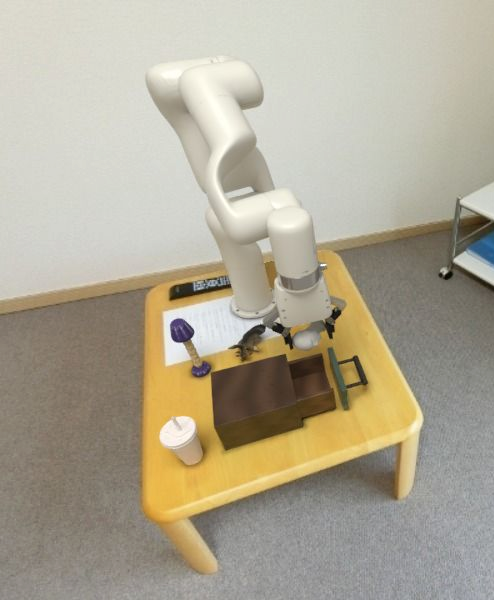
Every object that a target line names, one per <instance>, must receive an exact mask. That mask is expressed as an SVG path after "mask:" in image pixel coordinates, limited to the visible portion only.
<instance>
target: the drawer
mask: <svg viewBox="0 0 494 600" xmlns="http://www.w3.org/2000/svg"><path fill="white" fill-rule="evenodd" d="M326 351H327V358H328V362H329V363H328V364H329V369H330V372H331V375H332V378H333V381H334V384H335V387H336V391H337V394H338V397H339V400H340V403H341V406H342V410H347V409H349V408H350V406H349V405H350V404H349V396H348V390H349V389H352V388H356V387H358V386H364V387H365V386H368V385H369V381H368V378H367V376H366V373H365V370H364V368H363V365H362V362H361V360H360V358H359V355H357V354H355V355H352V357H350V358H346V359H343V360H340V361H338V359H337V356H336V352H335V351H334V347H333V346H329V347H327V348H326ZM352 362H353V364H354V366H355V369H356V372H357V374H358V378H359V381H357V382H352V383H350V384H346V382H345V380H344V376H343V374H342V370H341V368H340V366H341V365H345V364H349V363H352ZM288 364H289V369H290V373H291V377H292V382H293V386H294V390H295V394H296V399H297V403H298V407H299V411H300V416H301V419H303V418H306V417H310V416H314V415H317V414H320V413H323V412H327V411H329V410H334V409H336V408H337V404H336V397H335V396H336V395H335V390H334V387H331V384H330V382H329V378H328V376H327V372H326V367H325V361H324V355H323V353H322V352H320V353H316V354H313V355H312V354H311V355H308V356H304V357H301V358H297V359H293V360H288Z"/></svg>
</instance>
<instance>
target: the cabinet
mask: <svg viewBox="0 0 494 600" xmlns="http://www.w3.org/2000/svg"><path fill="white" fill-rule="evenodd" d="M288 361H289V360H288V356H287V353H282V354H279V355H274V356H271V357H267V358H262V359H259V360H254V361H252V362H251V361H250V362H246V363H244V364H238V365H233V366H230V367H227V368H223V369H218V370H215V371H210V385H211V386H210V387H211V399H212V400H211V402H212V419H213V421H212V422H213V428H214V430H215V432H216V434H217V437H218V438H219V440H220V442H221V444H222V446H223V448H224V450H225V451H229V450H231V449H235V448H238V447H239V448H240V447H242V446H246V445H248V444H252V443H255V442H259V441H261V440H265V439H269V438H272V437H275V436H279V435H281V434H284V433H285V434H286V433H288V432H291V431H295V430H298V429H301V428H303V427H304V424H303V421H302V418H301V416H300V411H299V407H298V403H297V399H296V394H295V390H294V386H293V382H292V377H291V373H290V369H289V364H288Z"/></svg>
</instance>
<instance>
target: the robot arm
mask: <svg viewBox="0 0 494 600" xmlns="http://www.w3.org/2000/svg"><path fill="white" fill-rule="evenodd" d="M144 80H145V81H144V82H145V86H146V88H147V91H148V93H149V95H150V98H151V100H152V102H153V103H154V105H155V107H156V108H157V111H159V113H160V114H161V116H162V117H163V118H164V119H165V120H166V121H167V123H168V124H169V125H170V127H171V128H172V129H173V131H174V132H175V134H176V136H177V137H178V139H179V141H180V144H181V147H182V149H183V151H184V154H185V156H186V159H187V161H188V164H189V166H190V168H191V171H192V173H193V176H194V178H195V180H196V183H197V185H198V187H199V188H200V189H201V191H202V192H203V193H204V194H206V197H207V201H208V203H209V207H208V208H207V209H206V211H205V215H204V218H205V219H204V220H205V222H206V226H207V228H208V230H209V231H210V233H211V235H212V237H213V239H214V241H215V244H216V245H217V247H218V250H219V253H220V256H221V259H222V263H223V265H224V268H225V271H226V274H227V279H228V280H229V283H230V287H231V290H232V293H233V297H232V299H231V302H230V307H231V310H232V312H233V313H234V314H235V315H236V316H237V317H240V318H243V319H259V318H261V317H263V319H262V324H263V325H264V326H266V329H269V330H271V331H272V332H274V333H277V334H279V335H280V336H281V337H282V338H283V341H284V344H285V345H286V346H287V345H288V346H289V350H290V351H292V350H293V349H294V345H293V343H292V335H291V329H292V328H294V327H299V326H304V325H307V324H310V323H311V322H315V321H319V320H323V321H324V322H325V325H326V330H325V332H326V333H327V336H328V338H329V340H333V339H334V335H333V334H334V333H335V332H336V328H335V324H336V321H337V320H338V319H339V317H340V316H342V314H343V313H342V312H343V311H344V310H345V309H346V307H347V306H348V304H347V302H346V300H345V299H343V298H340V297H336V296H334V295H331V294H330V292H329V291H330V290H329V288H328V284H327V281H326V277H325V275H324V272H323V271H325V270H328V264H327V262H326V261H323V262H322V261H319V257H318V250H317V241H316V235H315V227H314V221H313V218H312V215H311V214H310V212H308V210H307V209H305V208H304V207H303V205H302V201H301V199H300V196H299V195H297V193H295V192H294V191H293V190H292V189H290V188H289V187H278V188H276V187H275V184H274V181H273V178H272V175H271V172H270V169H269V166H268V164H267V161H266V158H265V156H264V154H263V153H262V152H261V150H260V149H259V148H258V147H257V142H258V139H257V135H256V133H255V130H254V129H253V127H252V126H251V124H250V122H249V120H248V119H247V117H246V115H245V113H244V111H246V110H251V109H256V108H258V107H260V106H262V104H263V102H264V98H265V91H264V86H263V83H262V81H261V78H260V76H259V74H258V73H257V71H256V70H255V68H254V67H253V66H252V65H251V64H250V63H249V62H247V60H245V59H243V58H239V57H237V56H232V55H229V54H217V55H209V56H202V57H194V58H183V59H176V60H169V61H165V62H161V63H157V64H155V65H153V66H151V67H150V68H148V69H147V71H146V72H145V75H144ZM246 188H251V189H252V191H250V192H248V193H244V194H241V195H236V196H233V197H229V198H228V196H227V194H229V193H232V192H235V191H238V190H239V191H240V190H242V189H246ZM266 239H269V244H270V249H271V254H272V257H273V262H274V267H275V271H276V277H275V278H274V281H273V282H274V283H273V286H274V287H273V288H274V289H273V288H271V285H270V280H269V277H268V274H267V269H266V265H265V261H264V256H263V253H262V249H261V247H260V245H259V244H258V242H260V241H262V240H266ZM332 306H335V307H332ZM277 319H279V320H280V323H279V322H278V321H276V320H277Z"/></svg>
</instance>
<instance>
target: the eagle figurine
mask: <svg viewBox="0 0 494 600" xmlns="http://www.w3.org/2000/svg"><path fill="white" fill-rule="evenodd" d="M266 329H267V327H266V326H264V325H263V323H260V324H256V325H253V326H252V327H250V329H249V330H247V331H246V332H245V333H243V335H242V338H241V339H240V340H239V341H238V342H237V344H233V345H231V346H228V347H227V349H228V350H235V349H239V350H237V351H235V352H234V353H235V354H236V355H235V357H236V358H238V357H239V358H241V362H244V361H245V360H246V358H247V357H248V356H251V355H252V354H253V352H251V351H254V352H258V353H259V352H260V349H259V347H257V346H255V345H254V342H255V341H258V340H260V339H262V337H261V336H262V335H263V334H264V333H265V332H266ZM248 351H250V352H248Z"/></svg>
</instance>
